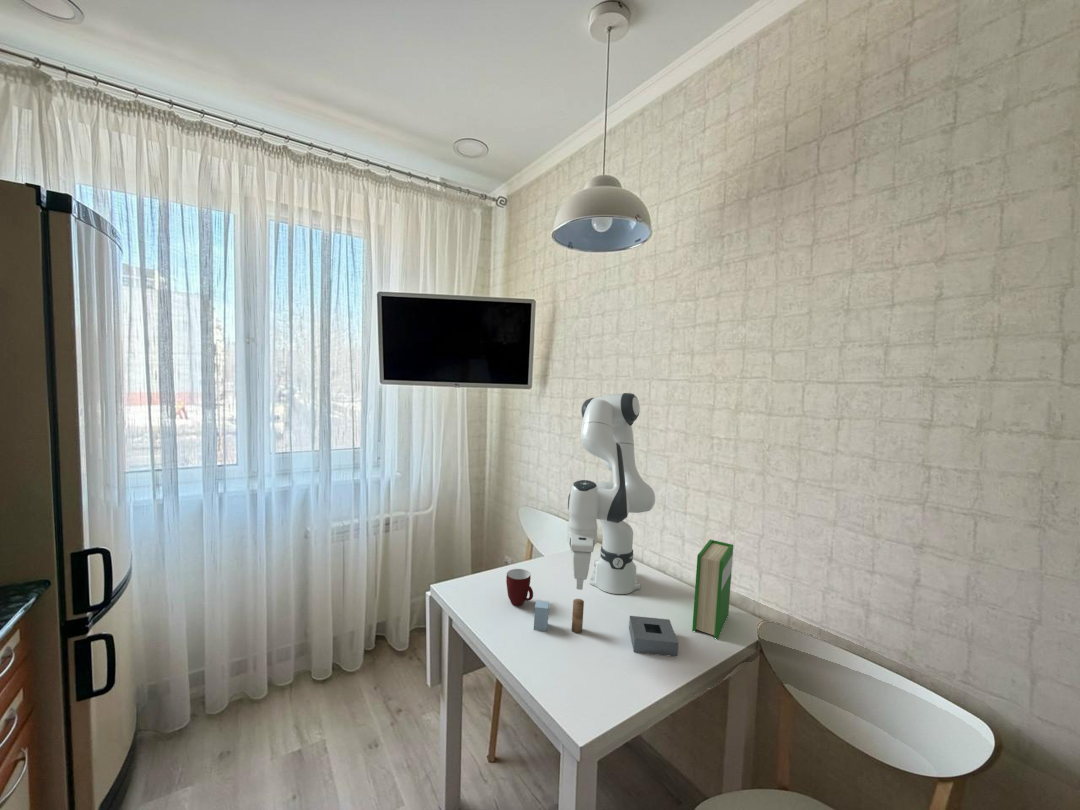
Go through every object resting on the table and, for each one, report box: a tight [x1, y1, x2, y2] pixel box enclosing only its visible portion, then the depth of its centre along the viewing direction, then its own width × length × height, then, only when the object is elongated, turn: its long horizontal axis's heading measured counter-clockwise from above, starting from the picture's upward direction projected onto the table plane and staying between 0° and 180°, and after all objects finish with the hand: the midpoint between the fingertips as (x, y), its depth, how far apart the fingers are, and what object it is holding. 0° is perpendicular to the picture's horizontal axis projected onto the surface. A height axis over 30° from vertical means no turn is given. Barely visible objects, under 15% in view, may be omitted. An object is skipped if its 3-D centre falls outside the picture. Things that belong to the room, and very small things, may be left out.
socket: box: [628, 615, 679, 657], centre depth 126 cm, size 12×12×4 cm
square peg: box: [533, 600, 550, 632], centre depth 131 cm, size 4×4×7 cm
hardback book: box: [691, 539, 734, 640], centre depth 137 cm, size 18×7×24 cm, turn 147°
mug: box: [505, 568, 534, 607], centre depth 143 cm, size 10×8×10 cm
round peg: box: [571, 598, 585, 634], centre depth 130 cm, size 3×3×9 cm
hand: (579, 581), depth 129 cm, fingers open, 8 cm apart
